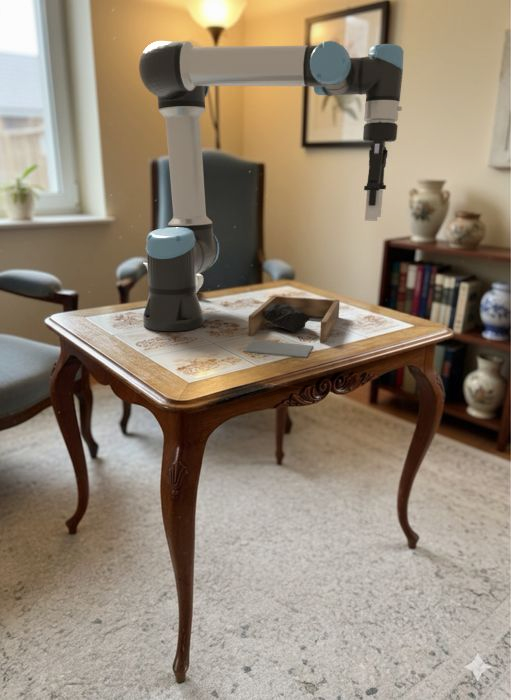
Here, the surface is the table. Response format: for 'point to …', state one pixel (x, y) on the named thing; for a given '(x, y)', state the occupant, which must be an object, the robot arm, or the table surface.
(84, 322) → the table surface
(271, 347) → the mat
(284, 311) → the rock
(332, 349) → the table surface
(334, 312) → the open wooden frame
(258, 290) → the table surface
